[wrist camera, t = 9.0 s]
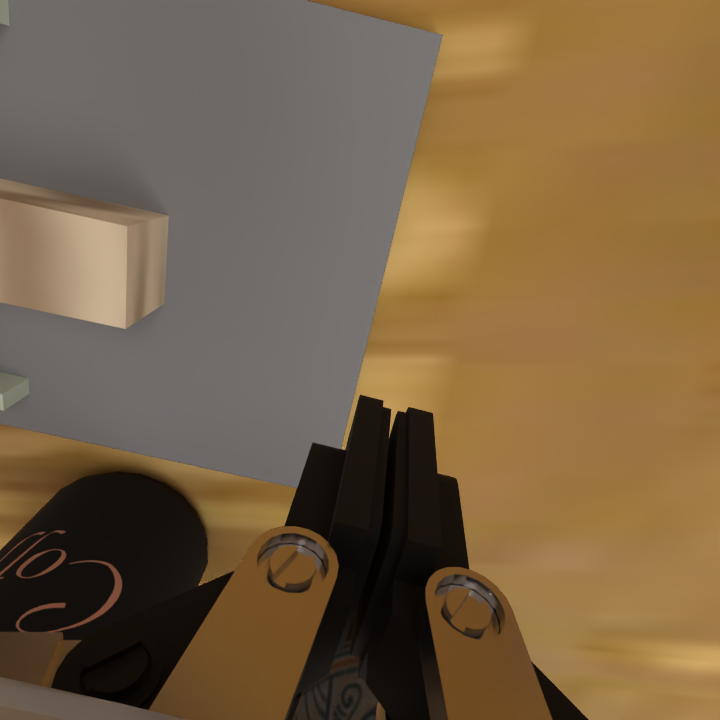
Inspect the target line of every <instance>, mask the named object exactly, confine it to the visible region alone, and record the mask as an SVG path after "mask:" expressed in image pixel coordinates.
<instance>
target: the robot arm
mask: <svg viewBox="0 0 720 720" xmlns="http://www.w3.org/2000/svg"><path fill="white" fill-rule="evenodd" d="M390 418H391V409H388V408H384V407H383V401H382V400H378V399H375V398H371V397H367V396H363V395H360V397H359V400H358V404H357V408H356V411H355V415H354V419H353V423H352V427H351V430H350V434H349V438H348V442H347V446H346V450H342V449H338V448H334V447H330V446H326V445H322V444H318V443H314V442H313V443H312V446H311V448H310V451H309V454H308V457H307V460H306V463H305V466H304V469H303V472H302V475H301V478H300V481H299V484H298V487H297V490H296V493H295V496H294V499H293V502H292V505H291V508H290V511H289V514H288V517H287V520H286V523H285V526H282V527H278V528H274V529H270V530H269V531H267V532H265V533H263V534H262V535H260V536H259V537H258V538H257V539H256V540H255V541H254V542H253V543H252V545H251V546H250V548H249V549H248V551H247V552H246V554H245V556H244V557H243V559H242V561H241V562H240V564H239V565H238V567H237V569H236V570H235V571H233V572H230V573H228V574H226V575H223V576H221V577H219V578H216V579H214V580H212V581H210V582H207V583H205V584H203V585H200V586H198V587H196V588H193V589H191V590H189V591H186V592H184V593H182V594H179V595H177V596H175V597H173V598H170V599H168V600H166V601H163V602H161V603H159V604H156V605H154V606H152V607H149V608H147V609H145V610H142V611H140V612H138V613H136V614H133V615H131V616H129V617H126V618H124V619H122V620H119V621H117V622H115V623H112V624H110V625H108V626H105V627H103V628H101V629H99V630H97V631H96V632H94V633H92V634H90V635H89V636H87V637H85V638H84V639H82V640H63V632H0V720H294V718H295V715H296V712H297V709H298V706H299V704H300V701H301V698H302V694H303V691H304V690H305V689H307V688H308V687H310V686H311V685H313V684H314V683H316V682H317V681H319V680H320V679H322V678H323V677H325V676H326V675H328V674H329V672H330V669H331V666H332V663H333V660H334V656H335V653H336V652H339V653H341V652H342V650H343V647H344V644H345V641H346V638H347V635H348V632H349V629H350V626H351V623H352V620H353V617H354V621H353V629H352V637H351V645H350V655H351V656H355V657H359V668H358V677H357V678H360V679H364V680H366V682H365V683H366V684H367V686H368V687H369V689H370V690H371V691H372V693H373V694H374V696H375V697H376V699H377V700H378V704H377V710H376V720H588V719H587V718H586V717H585V716H584V715H583V714H582V713H581V712H580V711H579V710H578V709H577V708H576V707H575V706H574V704H573V703H572V702H571V701H570V700H569V699H568V698H567V697H566V696H565V695H564V694H563V693H562V692H561V691H560V690H559V689H558V688H557V687H556V686H555V685H554V684H553V683H552V682H551V681H550V680H549V679H548V678H547V677H546V676H545V675H544V674H543V673H542V672H541V671H540V670H539V669H538V668H537V667H536V666H535V665H534V664H533V663H532V662H531V660H530V657H529V654H528V651H527V649H526V646H525V643H524V640H523V638H522V635H521V632H520V629H519V627H518V624H517V621H516V618H515V616H514V613H513V610H512V608H511V606H510V604H509V602H508V600H507V598H506V597H505V596H504V594H503V593H502V592H501V591H500V590H499V589H498V587H497V586H496V585H494V584H493V583H492V582H491V581H489V580H488V579H487V578H486V577H484V576H482V575H480V574H478V573H476V572H474V571H472V570H469V564H468V557H467V549H466V541H465V534H464V526H463V519H462V511H461V503H460V496H459V488H458V483H457V480H456V479H455V478H453V477H450V476H446V475H442V474H438V473H437V462H436V448H435V435H434V421H433V413H430V412H426V411H422V410H418V409H414V408H410V407H408V409H407V411H406V413H404V412H400V411H398V412H397V414H396V417H395V421H394V424H393V427H392V430H391V434H390V437H389V430H390Z"/></svg>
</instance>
